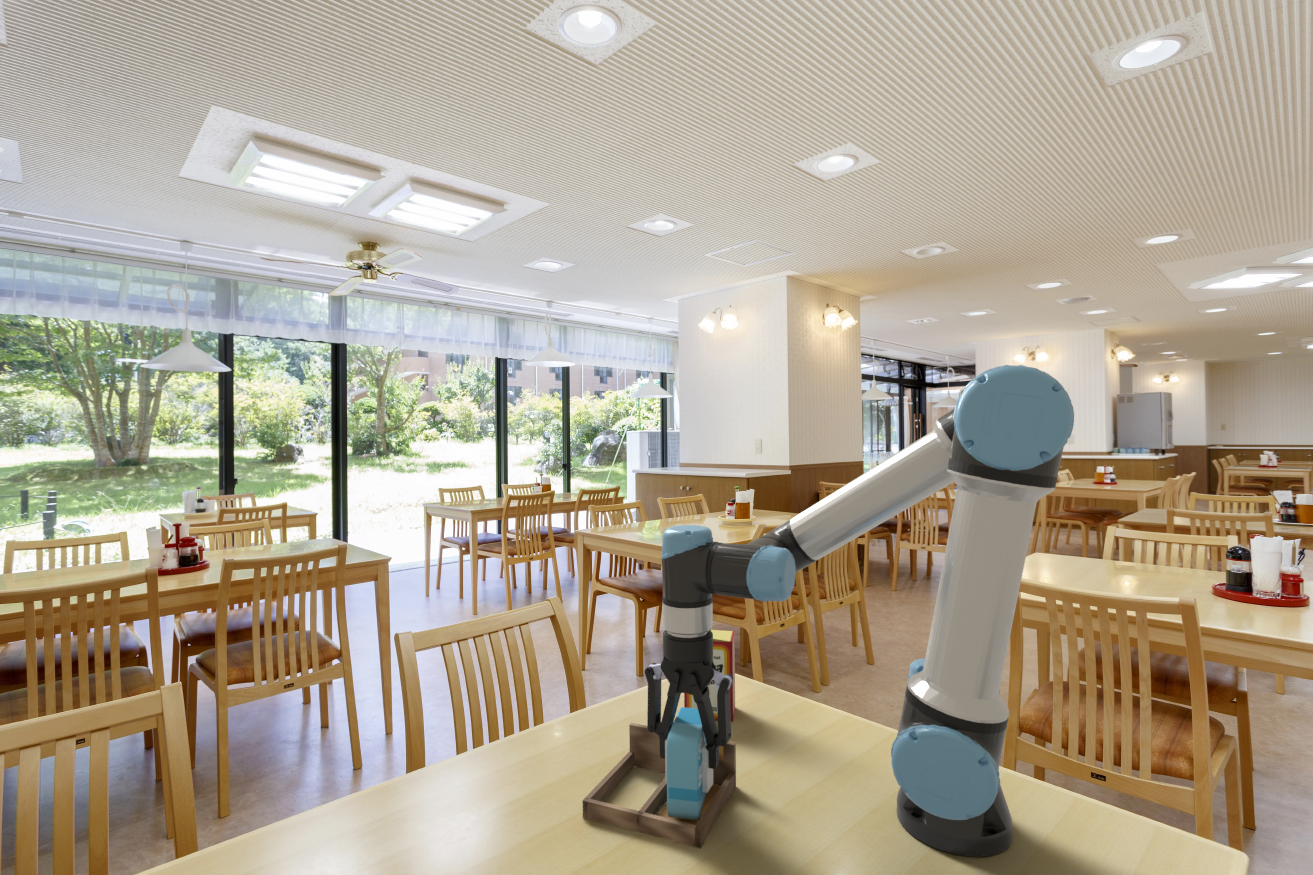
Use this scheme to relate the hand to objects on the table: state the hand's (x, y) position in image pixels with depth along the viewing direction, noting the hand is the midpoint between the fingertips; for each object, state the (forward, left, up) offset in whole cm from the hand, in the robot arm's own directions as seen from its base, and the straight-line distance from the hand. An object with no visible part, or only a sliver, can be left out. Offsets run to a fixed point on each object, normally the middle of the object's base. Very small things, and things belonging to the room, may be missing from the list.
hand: (689, 782), depth 99 cm
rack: (+5, 0, -4) cm, 6 cm away
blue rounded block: (0, 0, -3) cm, 3 cm away
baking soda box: (+8, -32, -4) cm, 33 cm away
